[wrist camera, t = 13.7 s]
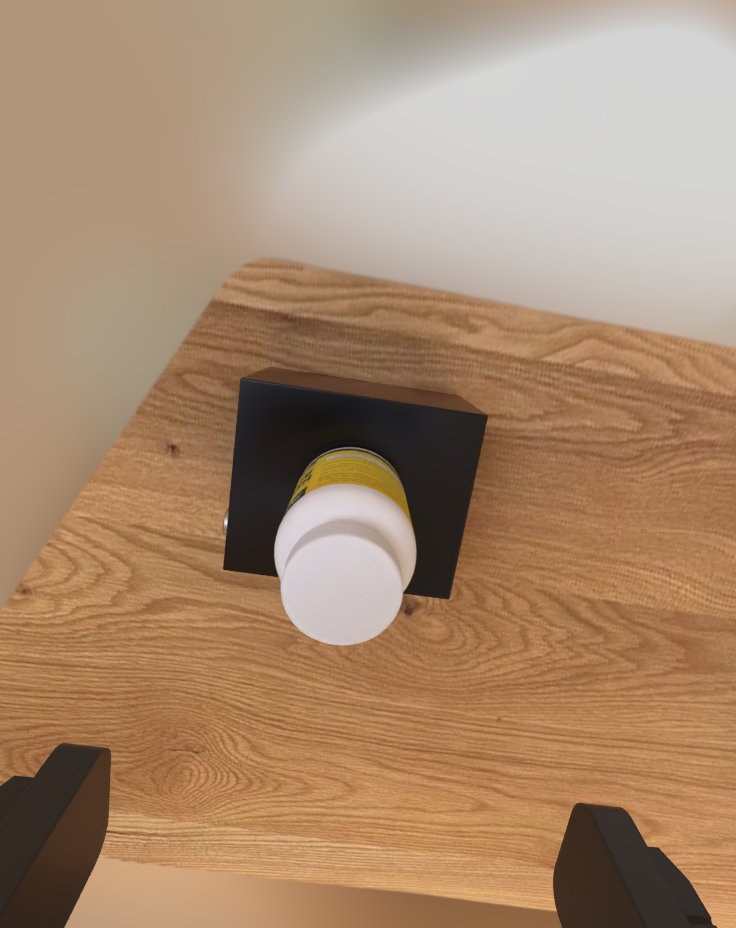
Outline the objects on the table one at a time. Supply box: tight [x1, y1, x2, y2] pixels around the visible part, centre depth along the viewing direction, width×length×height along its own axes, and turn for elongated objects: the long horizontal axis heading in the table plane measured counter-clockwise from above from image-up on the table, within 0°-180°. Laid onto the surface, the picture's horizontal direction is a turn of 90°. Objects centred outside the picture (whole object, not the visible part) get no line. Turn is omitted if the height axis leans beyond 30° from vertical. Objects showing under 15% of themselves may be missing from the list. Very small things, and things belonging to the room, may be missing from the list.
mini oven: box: [223, 367, 488, 599], centre depth 30 cm, size 13×10×8 cm
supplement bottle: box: [274, 447, 416, 645], centre depth 22 cm, size 5×5×10 cm
